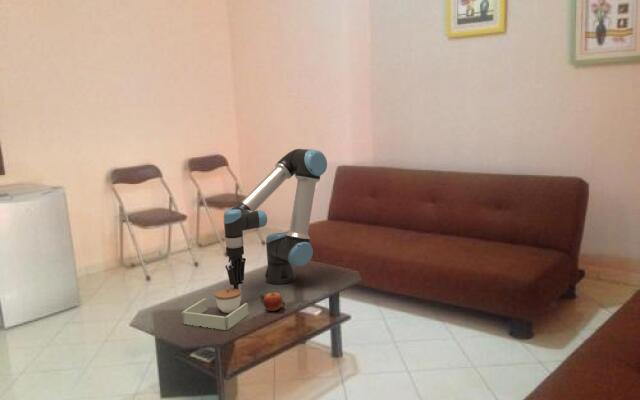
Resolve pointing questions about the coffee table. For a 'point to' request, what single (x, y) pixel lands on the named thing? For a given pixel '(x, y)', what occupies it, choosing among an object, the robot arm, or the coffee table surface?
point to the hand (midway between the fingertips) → (238, 298)
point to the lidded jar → (228, 299)
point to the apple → (272, 301)
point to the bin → (212, 316)
